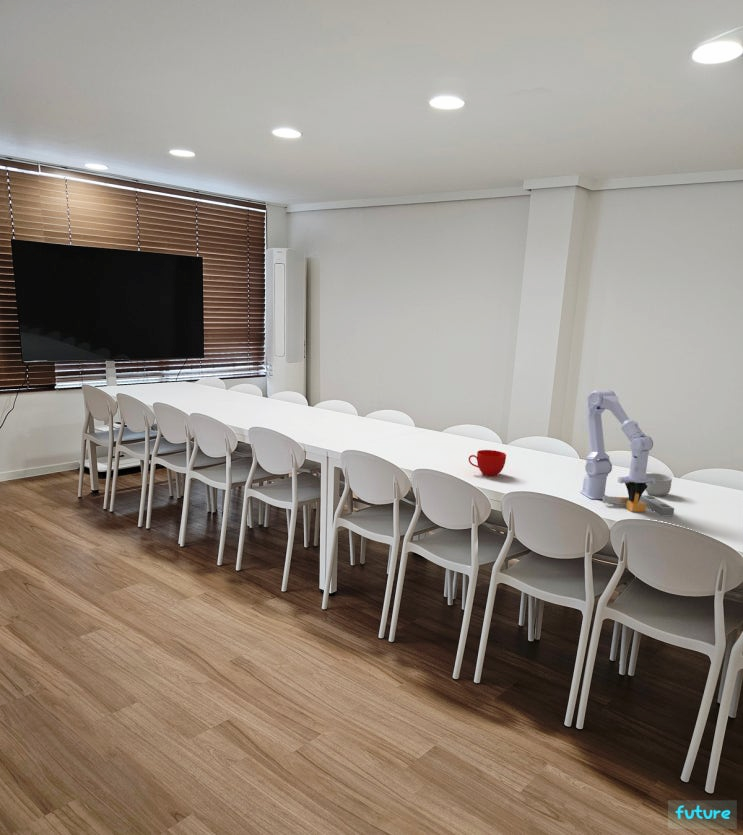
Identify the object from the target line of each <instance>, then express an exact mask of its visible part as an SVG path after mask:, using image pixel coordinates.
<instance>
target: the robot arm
mask: <svg viewBox="0 0 743 835" xmlns="http://www.w3.org/2000/svg"><path fill="white" fill-rule="evenodd" d="M586 399H587V408H586V418H587V419H586V421H587V430H588V439H589V441H588V442H589V451H590V452H589V454H588V455H587V456H586V459H585V460H586V463H585V465H584V468H585V473H586V474H585V476H584V477H583V483H582V490H580V491H579V492H580V493H581V494H583V495H584V496H586V497H587V498H588V499H590V500H603V496H606V486H607V478H608V477H609V474H610V473H611V472H612V470H613V464H612V462H611V460H610V455H608V453H606V452H605V450H606V449H605V442H604V441H605V440H604V433H603V432H604V431H603V421H602V414H603V413H604V412H605V410H609V411H610V412H611V413H612V415H613V416H614V417H615V419H617V421H618V422H619V423H620V424H621V431H622V432H623V433H624V435H625V436H626V438H627V439H628V441H629V448H630V450H631V461H630V466H629V473H628V475H627V476H618V478H617V483H619V484H624V485H625V487H626V490H627V493H628V494H627V495H628V497H629V500H630V501H631V502H633V501H634V497H635V492H637V493H639V498H638V502H639V500H640V497H641V495H643V494H644V492H646V490H645V489H646V488H647V486H648V485H646V483H652V484H655V480H656V479H654V478H648V477H645V476H646V473H647V468H648V461H649V460H648V459H649V454H650V451H651V450H652V449H653V447H654V440H653V439H652V437H651V436H649V435H646V434H645V433H644V432H643V430H642V429H641V428H640V427H639V423H638V422H637V421H635V420H631V419H630V418H629V416H628V414H627V413H626V412H625V410H624V408H623V407H622V405H621V403H620V402H619V397H618V396H617V395H616V393H615V392H614V391H613V390H610V389H608V390H592V391H591V392H590V394H588V396H587V398H586Z"/></svg>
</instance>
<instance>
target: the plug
mask: <svg viewBox="0 0 743 835" xmlns="http://www.w3.org/2000/svg"><path fill="white" fill-rule="evenodd" d="M638 498H639V493H637V492H635V497H634V501H633V502H631V501H627V504H626V506H625V507H626V508H625V509H627V510H628V511H629V512H638V513H639V512H641V513H643V512H644V513H645V512H646V511H647V507H646V505H647V504H645V503H644V502H642V501H639V502H638Z"/></svg>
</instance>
